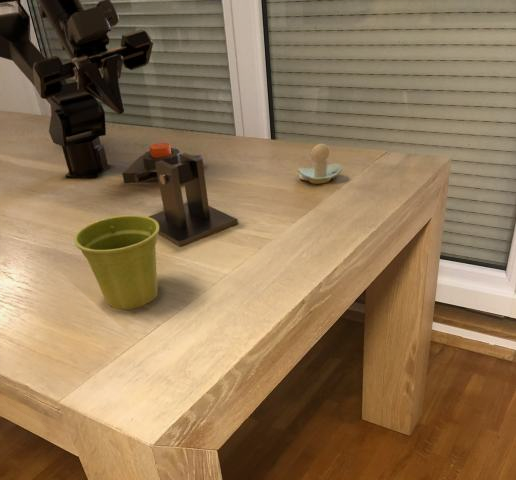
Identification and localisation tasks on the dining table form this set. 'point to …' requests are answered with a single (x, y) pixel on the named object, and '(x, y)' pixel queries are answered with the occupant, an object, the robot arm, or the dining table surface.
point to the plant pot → (122, 258)
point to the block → (150, 165)
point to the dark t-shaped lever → (183, 168)
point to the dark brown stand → (187, 205)
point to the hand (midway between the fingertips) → (121, 112)
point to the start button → (160, 150)
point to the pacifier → (320, 166)
